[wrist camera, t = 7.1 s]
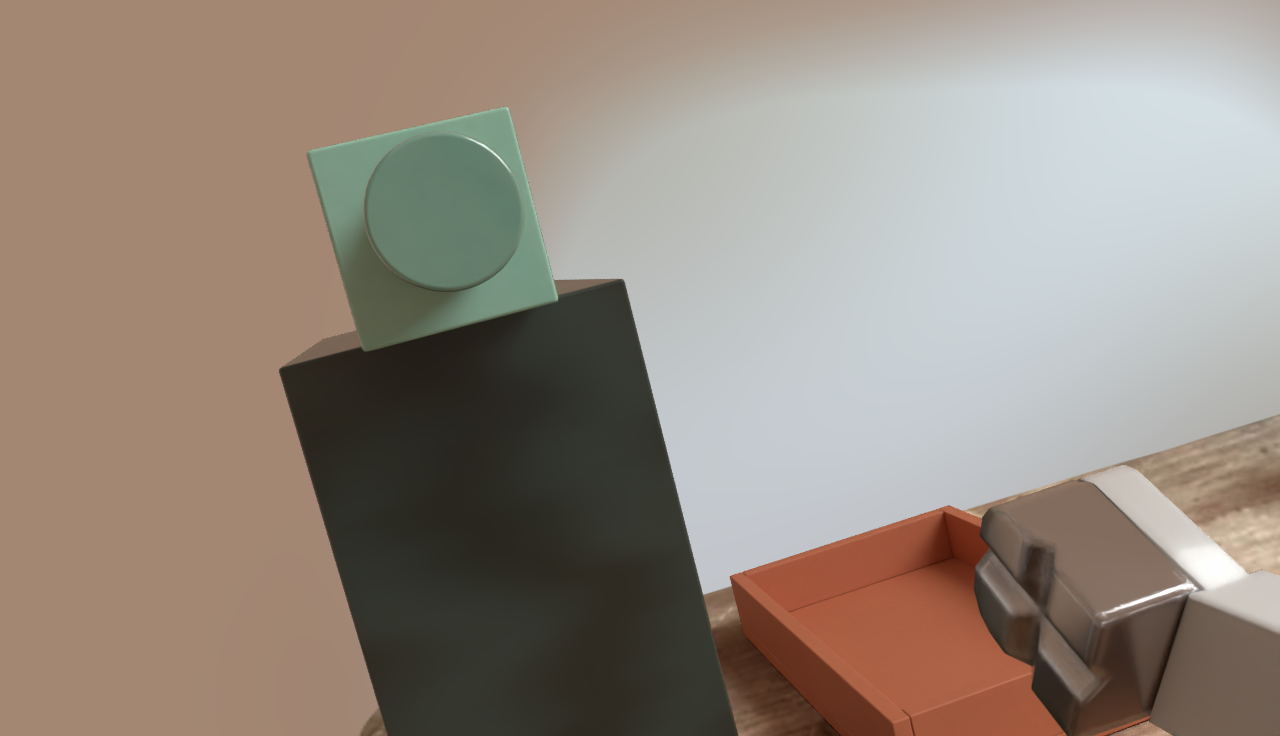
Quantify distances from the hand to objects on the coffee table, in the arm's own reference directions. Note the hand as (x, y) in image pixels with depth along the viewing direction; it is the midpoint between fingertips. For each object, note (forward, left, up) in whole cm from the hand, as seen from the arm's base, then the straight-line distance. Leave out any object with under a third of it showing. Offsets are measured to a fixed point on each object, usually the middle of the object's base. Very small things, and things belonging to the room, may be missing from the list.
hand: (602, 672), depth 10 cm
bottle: (0, +15, +3) cm, 15 cm away
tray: (+20, +39, -21) cm, 48 cm away
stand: (0, +21, -21) cm, 29 cm away
